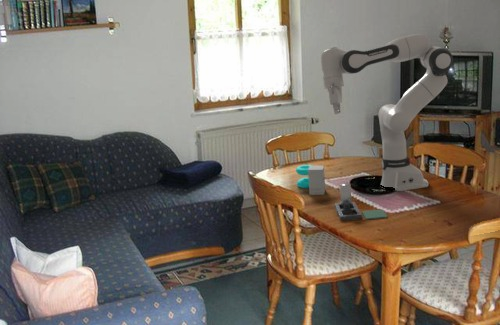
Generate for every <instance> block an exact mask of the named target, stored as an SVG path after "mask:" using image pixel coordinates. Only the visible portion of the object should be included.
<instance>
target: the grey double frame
mask: <svg viewBox="0 0 500 325" xmlns="http://www.w3.org/2000/svg"><path fill="white" fill-rule="evenodd" d="M351 203H352V208H348V209H341V202H335V203H334V209H335V211H336V214H337V217H338V218H339V221H340V222H345V221H357V220H363V214H362V212H361V210H360V209H359V208H358V205H357V203H356V202H355V201H351Z"/></svg>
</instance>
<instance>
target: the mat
mask: <svg viewBox="0 0 500 325" xmlns="http://www.w3.org/2000/svg"><path fill="white" fill-rule="evenodd" d="M361 214H362V216H363V217H364V219H365V221H366V220H367V221H368V220H378V219H388V216H387V214H386V212H385V211H384V209H382V208H381V209H380V208H379V209H372V210H371V209H370V210H361Z"/></svg>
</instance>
